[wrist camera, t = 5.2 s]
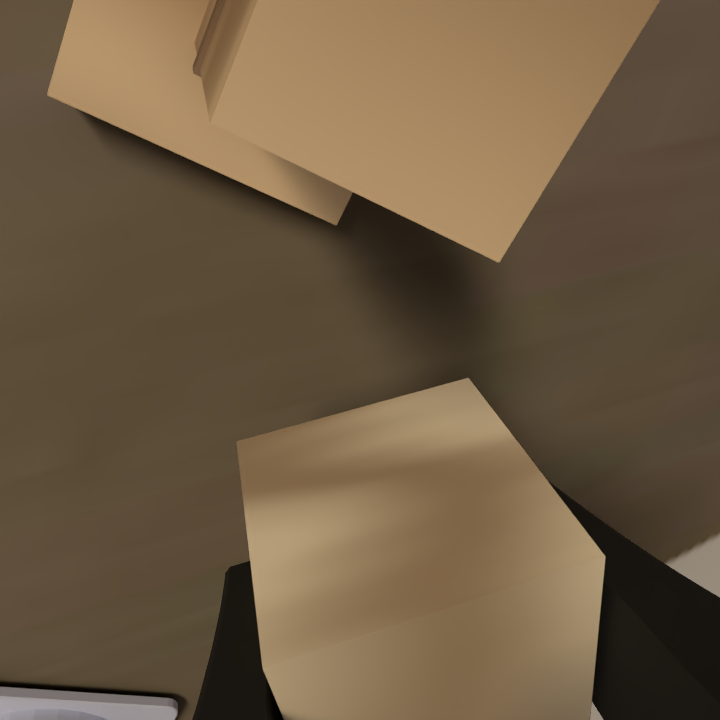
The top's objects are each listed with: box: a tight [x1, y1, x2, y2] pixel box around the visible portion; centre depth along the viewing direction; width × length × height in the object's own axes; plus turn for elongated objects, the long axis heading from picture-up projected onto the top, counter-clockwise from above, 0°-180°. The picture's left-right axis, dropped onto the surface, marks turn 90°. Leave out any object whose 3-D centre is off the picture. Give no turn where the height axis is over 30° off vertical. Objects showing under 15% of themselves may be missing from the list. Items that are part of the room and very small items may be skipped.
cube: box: [237, 378, 605, 720], centre depth 11 cm, size 4×4×4 cm
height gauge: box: [47, 0, 660, 263], centre depth 8 cm, size 6×6×11 cm
